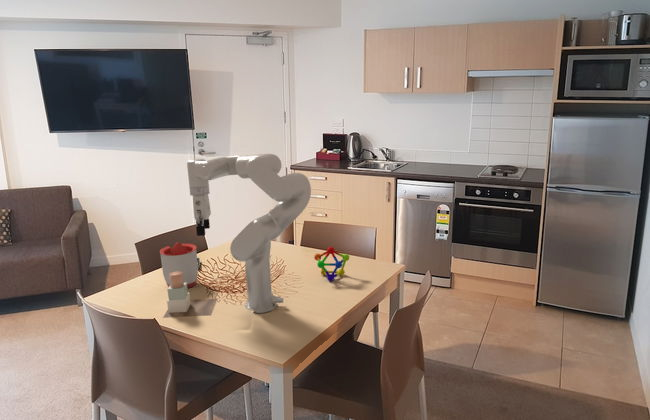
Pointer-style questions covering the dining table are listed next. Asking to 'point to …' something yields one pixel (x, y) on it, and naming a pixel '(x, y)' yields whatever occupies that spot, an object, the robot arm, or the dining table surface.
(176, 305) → the cream block
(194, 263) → the citrus juicer
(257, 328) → the dining table surface
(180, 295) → the sage block
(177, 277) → the pink domed cylinder
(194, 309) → the serving board
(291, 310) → the dining table surface
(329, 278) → the educational toy
